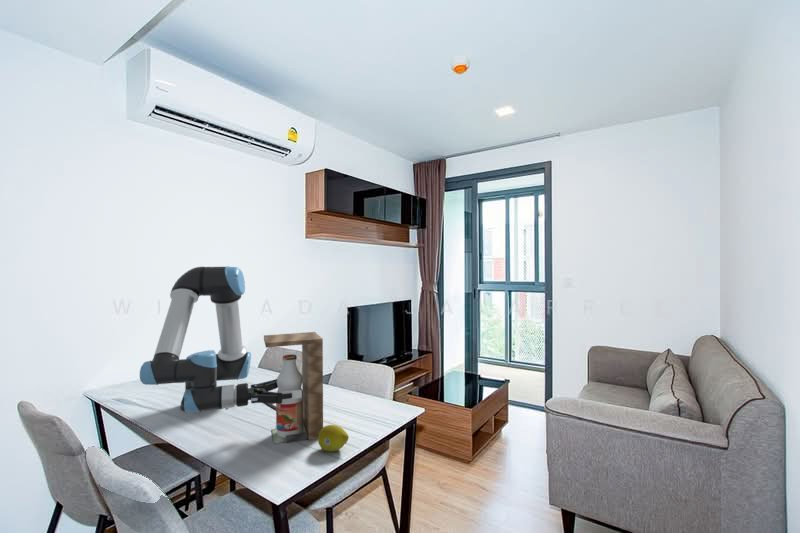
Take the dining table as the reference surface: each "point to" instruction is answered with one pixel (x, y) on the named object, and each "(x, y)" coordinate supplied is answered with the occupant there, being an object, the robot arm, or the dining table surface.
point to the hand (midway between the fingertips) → (299, 387)
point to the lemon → (332, 438)
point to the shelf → (305, 382)
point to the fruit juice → (291, 409)
